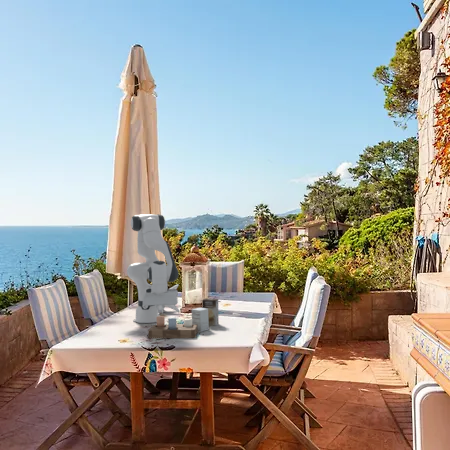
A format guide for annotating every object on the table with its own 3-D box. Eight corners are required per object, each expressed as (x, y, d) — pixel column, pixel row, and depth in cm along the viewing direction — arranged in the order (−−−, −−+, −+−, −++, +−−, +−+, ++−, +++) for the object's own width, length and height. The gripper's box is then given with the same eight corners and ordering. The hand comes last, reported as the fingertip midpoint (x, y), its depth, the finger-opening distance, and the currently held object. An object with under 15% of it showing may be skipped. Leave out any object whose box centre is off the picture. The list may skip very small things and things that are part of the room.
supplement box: (199, 328, 303) (199, 307, 303) (209, 329, 298) (208, 308, 298) (191, 330, 297) (191, 309, 297) (200, 331, 292) (200, 310, 292)
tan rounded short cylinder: (157, 326, 291) (157, 316, 291) (165, 326, 291) (165, 316, 291) (156, 327, 286) (155, 317, 286) (164, 327, 286) (163, 317, 286)
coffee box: (202, 325, 310) (201, 299, 310) (205, 323, 316) (204, 298, 316) (216, 326, 308) (215, 300, 308) (219, 324, 314) (218, 298, 314)
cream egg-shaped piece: (184, 329, 290) (184, 318, 290) (192, 329, 290) (192, 318, 290) (183, 330, 286) (183, 320, 286) (191, 330, 285) (191, 320, 285)
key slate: (169, 328, 284) (168, 318, 284) (177, 328, 283) (176, 318, 283) (167, 330, 279) (167, 319, 279) (176, 330, 279) (175, 319, 279)
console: (153, 332, 293) (153, 324, 293) (197, 332, 291) (197, 324, 291) (148, 338, 278) (148, 330, 278) (194, 337, 276) (194, 329, 276)
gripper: (178, 287, 291) (179, 311, 291) (143, 288, 292) (144, 312, 292) (176, 289, 285) (177, 313, 285) (141, 290, 286) (142, 314, 286)
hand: (160, 312), depth 288 cm, fingers closed
